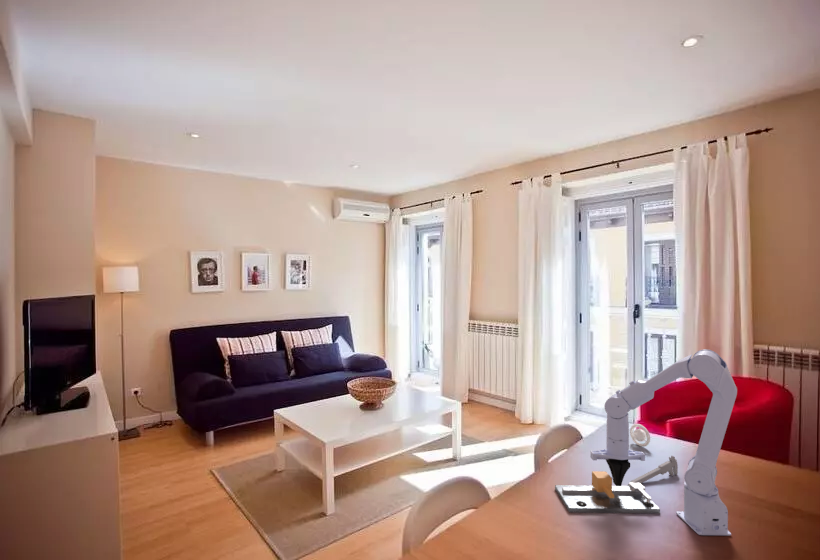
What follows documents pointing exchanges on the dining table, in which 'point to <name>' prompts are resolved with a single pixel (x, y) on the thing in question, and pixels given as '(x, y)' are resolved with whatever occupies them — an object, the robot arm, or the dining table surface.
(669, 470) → the caliper
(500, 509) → the dining table surface
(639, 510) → the board
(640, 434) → the ring around a ball
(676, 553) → the dining table surface
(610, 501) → the block
